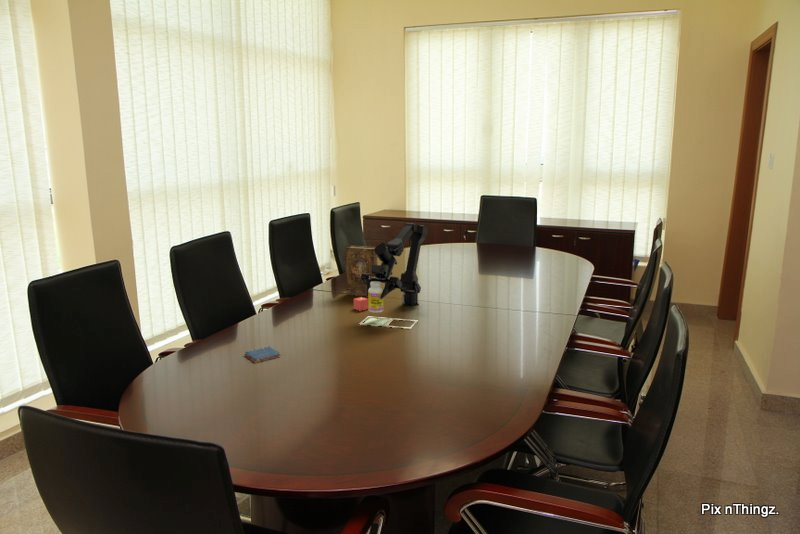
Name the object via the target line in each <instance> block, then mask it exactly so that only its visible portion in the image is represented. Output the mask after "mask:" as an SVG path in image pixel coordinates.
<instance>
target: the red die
mask: <svg viewBox="0 0 800 534" xmlns="http://www.w3.org/2000/svg"><path fill="white" fill-rule="evenodd" d="M355 309H356V310H355ZM366 309H368V310H369V308H368V297H362V296H359V297H356V298H353V310H355V311H358V310H359V311H358V312H363V311H367V310H366ZM362 310H363V311H362Z"/></svg>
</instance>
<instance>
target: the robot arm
mask: <svg viewBox="0 0 800 534" xmlns="http://www.w3.org/2000/svg"><path fill="white" fill-rule="evenodd" d="M428 231H429V230H428V228H427V227H426V225H423V224H422V225H421V224H417V223H413V222H406V223H405V224H404V227H403V228H402V229H401V230H400V232H399V233H398V235H397V236H396V237H395V238H394V239H392V240H389V241H388V242H383V241H382V242H381V243H380V244H378V245H376V246H374V247H375V249H374V252H375V254H376V255H377V259H379V260H378V261H381V263H380V264H378V265H372V267H371V272H373V273H374V276H376V278H375V277H372V276H371V275H370V274H367V273H362V274H361V276H360V279H361V280H362V281H363V283H364V284H366V285H367V297H366V298H368V290H369V288H371V285H370V283H371V282H374V281H378V282H381V284H384V287H383V292H382V294H381V299H382V298H385V297H386V296H387V295H388V294H389V293H391V292H392V291H394V290H396V289H398V290H400V292H401V293H403V294H402V304H403V305H404V304H405V306H406V307H410V306H412V305H413V306H420V303H419V297H418V294H420V292H421V288H422V287H421V284H420V283H419V277H418V275H417V268H418V262H419V257H420V252H421V246H422V244H423V242H424V241H425V240H426V237H427V235H428ZM409 239H410V246H409V251H408V252H409V253H408V257H407V262H406V263H407V264H406V268H405V271H404V272H402V273H401V274H400V278H399V277H398V276H392V275H393V273H394V272H393V270H394V267H395V265H396V266H397V265H398V261H397V258H396V257H400V256H402V254H403V252H404V251H405V250H404V249H405V248H404V246H405V244H406V243H407V242H408V240H409Z"/></svg>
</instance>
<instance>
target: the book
mask: <svg viewBox="0 0 800 534" xmlns="http://www.w3.org/2000/svg"><path fill="white" fill-rule="evenodd" d="M375 247H376V246H363V245H350V246H349V247H348V246H346V247H345V248H344V253H345V255H344V257H345V258H344V259H345V267H344V268H345V294H346V295H347V296H353V295H355V296H356V297H362V296H366V297H365V298H368V297H367V285H366V284H364V283H363V281H362V280H361V279H360V276H361V274H362V273H367V274H370V275H371V276H372V277H375V278H376V276H374V273H373V272H371V267H372V265H379V264H378V263H379V262H378V261H379V260H378V257H377V255H376V254H375V252H374V249H375ZM355 296H354V297H355Z"/></svg>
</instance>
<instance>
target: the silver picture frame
mask: <svg viewBox="0 0 800 534" xmlns="http://www.w3.org/2000/svg"><path fill="white" fill-rule="evenodd" d="M377 318H378V319H377ZM393 320H394V321H399V320H403V321H402V322H411V321H412V322H411V323H412V324H411V325H410V327H407V326H397V325H395V326H394V325H391V324H392V323H393V322H394V321H393ZM364 321H365V322H364ZM392 321H393V322H392ZM363 322H364V323H363ZM391 322H392V323H391ZM418 322H419V320H417V319H416V320H415V319H408V318H407V319H405V318H403V319H402V318H394V317H393V318H392V317H381V316H369V315H368V316H366V317H365V318H364V319H363V320H361V321H360V322H359V323H358V325H359V324H360V325H359V326H367V325H371V326H370V327H378V326H382V327H381V328H390V327H392V328H393V329H401V328H403V330H412V329H413V328H414V327H415V326H416V325H417V324H418ZM390 323H391V324H390ZM389 324H390V325H389Z"/></svg>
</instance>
